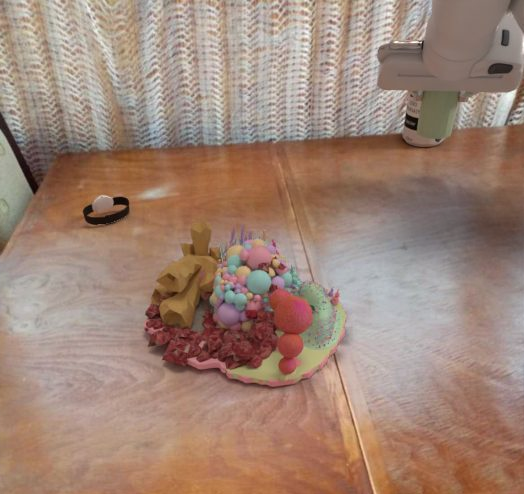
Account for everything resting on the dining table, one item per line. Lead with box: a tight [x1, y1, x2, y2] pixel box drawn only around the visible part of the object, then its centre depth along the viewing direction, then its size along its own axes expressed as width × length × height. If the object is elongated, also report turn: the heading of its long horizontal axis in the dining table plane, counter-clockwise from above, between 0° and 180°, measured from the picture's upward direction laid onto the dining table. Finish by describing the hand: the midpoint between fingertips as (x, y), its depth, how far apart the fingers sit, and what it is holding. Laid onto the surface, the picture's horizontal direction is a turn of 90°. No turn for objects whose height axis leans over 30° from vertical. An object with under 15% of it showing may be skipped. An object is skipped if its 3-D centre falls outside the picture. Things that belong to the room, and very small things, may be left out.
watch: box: [82, 194, 131, 226], centre depth 87 cm, size 8×5×4 cm, turn 124°
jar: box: [417, 91, 460, 139], centre depth 85 cm, size 6×6×10 cm
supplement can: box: [402, 92, 446, 148], centre depth 103 cm, size 8×8×15 cm
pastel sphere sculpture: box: [142, 220, 347, 388], centre depth 65 cm, size 25×24×9 cm
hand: (439, 97), depth 86 cm, fingers closed on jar, 5 cm apart
